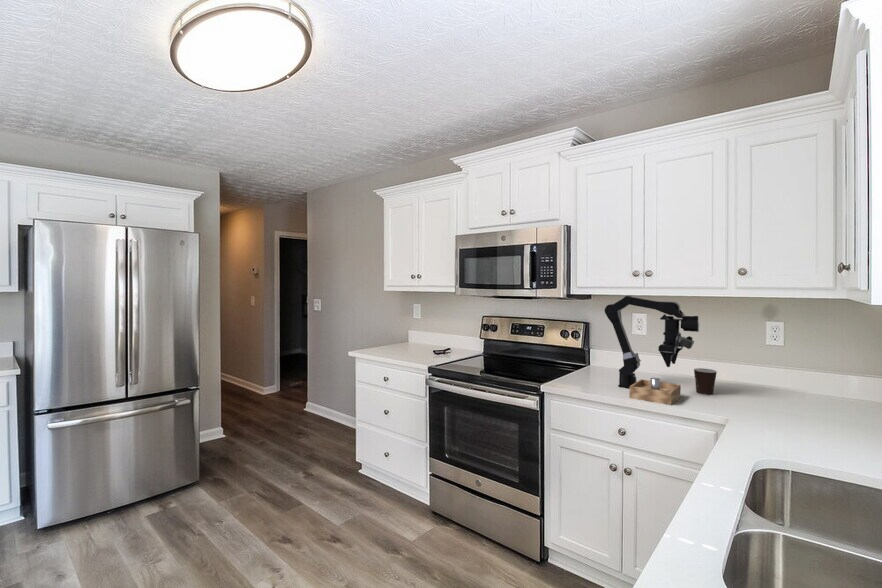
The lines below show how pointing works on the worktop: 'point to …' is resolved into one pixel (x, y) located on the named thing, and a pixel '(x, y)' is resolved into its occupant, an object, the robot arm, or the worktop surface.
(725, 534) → the worktop surface
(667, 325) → the robot arm
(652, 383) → the peg
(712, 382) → the coffee mug
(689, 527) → the worktop surface
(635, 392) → the tray
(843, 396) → the worktop surface
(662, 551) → the worktop surface
